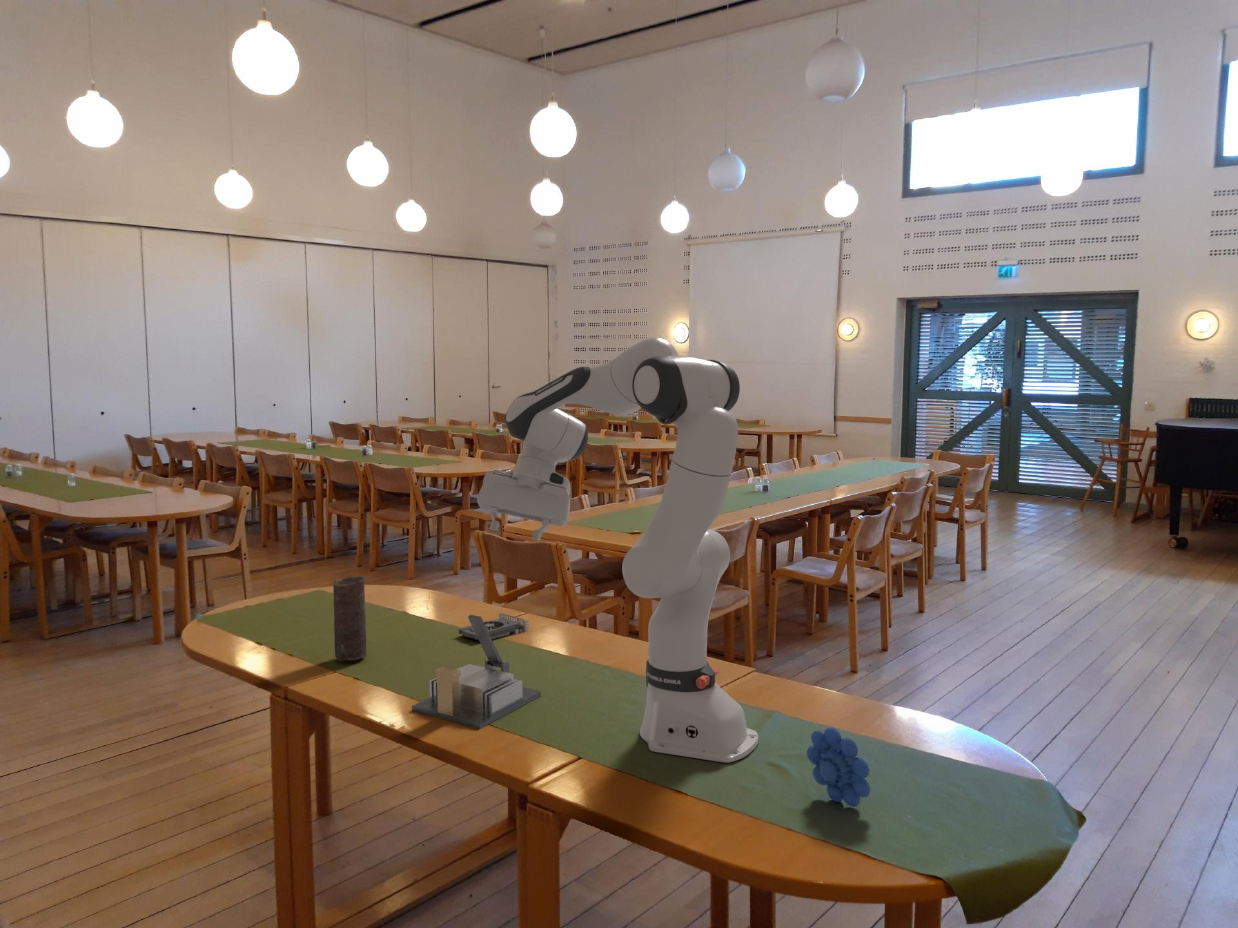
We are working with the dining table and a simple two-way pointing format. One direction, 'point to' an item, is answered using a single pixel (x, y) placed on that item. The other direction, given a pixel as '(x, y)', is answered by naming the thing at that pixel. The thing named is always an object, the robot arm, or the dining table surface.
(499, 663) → the retention strap
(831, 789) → the blue flower
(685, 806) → the dining table surface
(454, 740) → the dining table surface
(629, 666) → the dining table surface
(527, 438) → the robot arm
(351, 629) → the candle
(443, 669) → the grey boxy piece
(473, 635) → the graphics card
